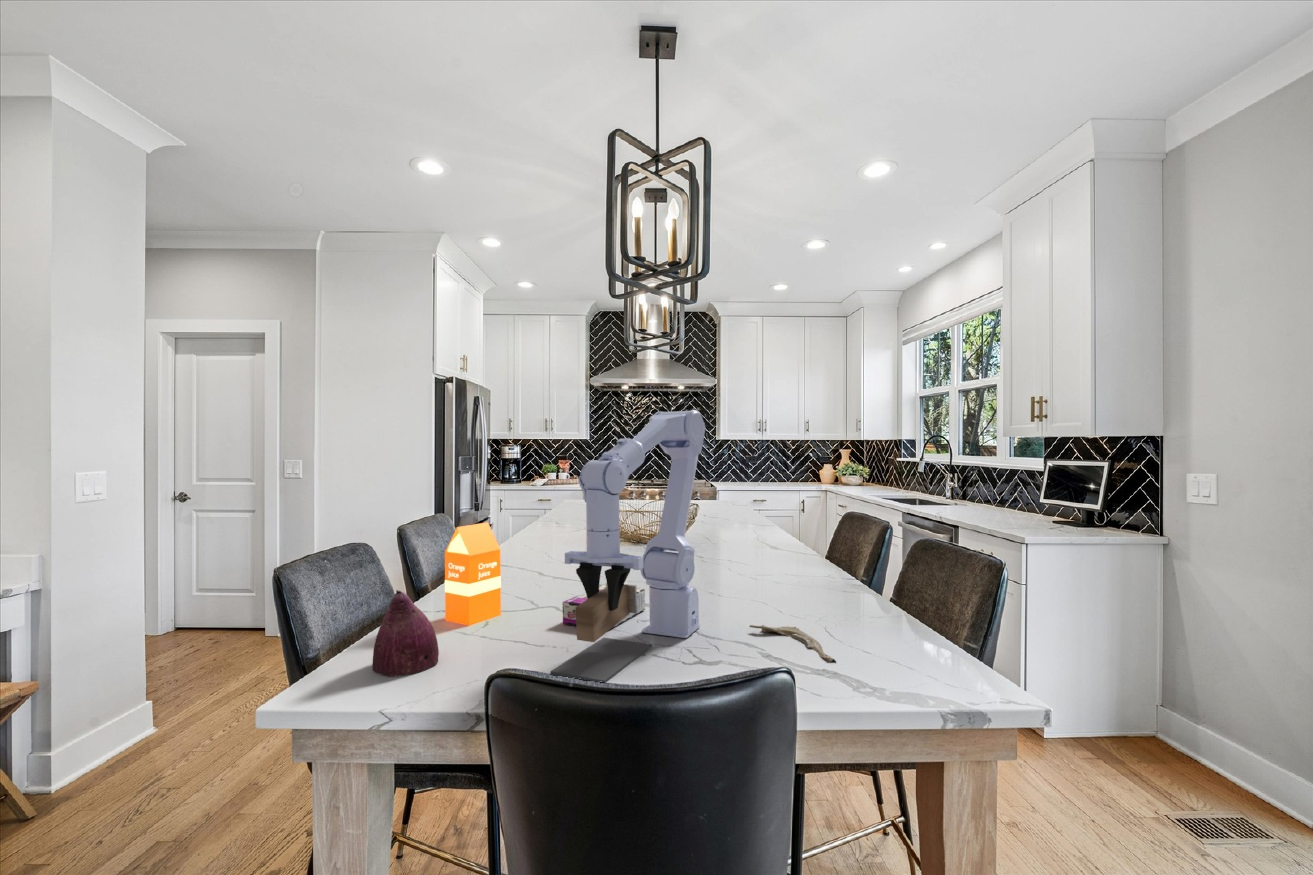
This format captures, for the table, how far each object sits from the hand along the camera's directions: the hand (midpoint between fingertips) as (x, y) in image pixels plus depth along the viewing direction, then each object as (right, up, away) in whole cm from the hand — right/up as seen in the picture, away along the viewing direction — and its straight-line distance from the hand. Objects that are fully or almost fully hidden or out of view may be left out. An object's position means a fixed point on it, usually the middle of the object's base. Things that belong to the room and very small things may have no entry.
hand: (603, 607), depth 104 cm
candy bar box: (-5, -7, +17) cm, 19 cm away
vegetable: (-33, -10, -2) cm, 35 cm away
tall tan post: (0, -3, 0) cm, 3 cm away
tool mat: (0, -9, 0) cm, 9 cm away
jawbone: (+34, -10, +6) cm, 36 cm away
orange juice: (-30, -10, +25) cm, 41 cm away
